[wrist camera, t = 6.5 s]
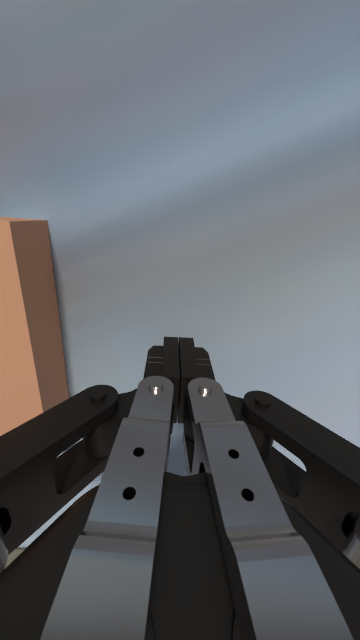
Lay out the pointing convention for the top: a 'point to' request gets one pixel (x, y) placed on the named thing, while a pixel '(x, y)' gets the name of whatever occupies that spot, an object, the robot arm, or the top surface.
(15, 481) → the robot arm
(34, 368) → the t block
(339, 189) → the top surface
